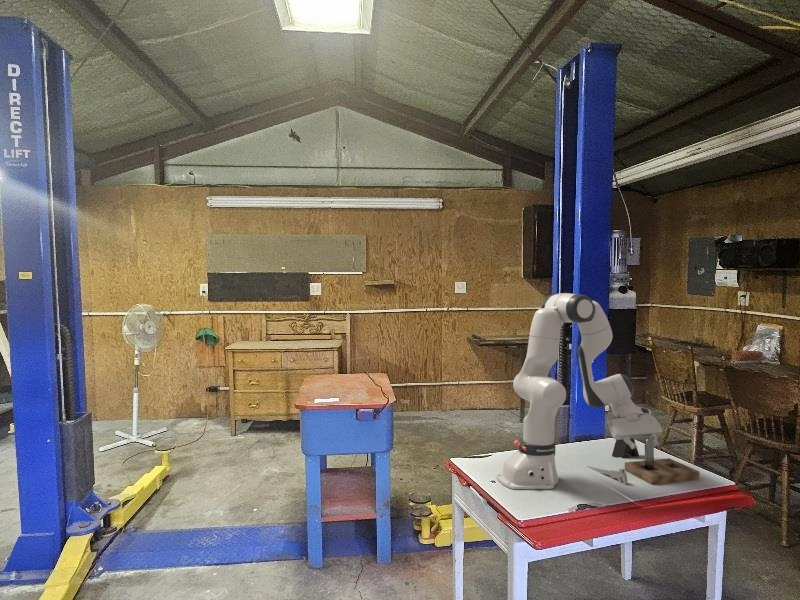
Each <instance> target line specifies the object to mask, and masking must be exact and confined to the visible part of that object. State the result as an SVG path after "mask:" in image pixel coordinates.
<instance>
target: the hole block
mask: <svg viewBox="0 0 800 600" xmlns="http://www.w3.org/2000/svg"><path fill="white" fill-rule="evenodd" d="M624 471H626V473H629V474H631V475H633V476H635V477H636V478H638V479H640V480H641V481H644V482H645V483H648V484H650V485H651V486H652V485H654V486H655V485H663V484H670V483H678V482H679V483H680V482H689V481H700V471H699V470H697V469H695V468H693V467H690V466H688V465H686V464H683V463H681V462H678V461H677V460H674V459H672V458H670V457H668V458H659V459H654V470H650V471H648V470H646V469H645V460H638V461H637V460H636V461H628V462H627V461H625V462H624Z"/></svg>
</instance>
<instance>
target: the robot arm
mask: <svg viewBox="0 0 800 600" xmlns="http://www.w3.org/2000/svg"><path fill="white" fill-rule="evenodd" d="M565 323H569V324H571V323H576V324H577V326H578V330H579V332H580V337H581V339H580V340H581V342H580V345H579V346H578V347H577V361H578V366H579V372H580V377H581V382H582V393H583V394H582V395H583V399H584V401H585V403H586V404H587V406H589V407H591V408H594V409H597V410H598V409H601V408H603V407H605V406H607V405H609V406H610V407H611V409H612V413H613V415H612V416H611V415H610V416H607V417H606V419H605V422H606V424H607V425H608V428H609V432H610V434H611V436H612V438H613V439H614V440H615V441H616V440H621V439H623V440H624V442H626V443H627V444H628V445H629V446H630V447H631V449H636V448H637V449H638V445H637V444H635V443H636V442H635V443H633V442H632V441H631V440H630V439H632V438H634V439H639V438H640V439H641V438H645V437H650V438H653V439H654V448H657V447H659V446H660V445H659V442H658V437H659V436H660V435H661V434H662V433H663V428H662V426H661V424H660V423H659V422H658V420H657V418H656V417H655V416H654V415H652V411H651V410H650V409H649V408H645V407H641V406H638V405H636V404H635V402H634V401H633V400H632V399H631V398H632V397H633V395H634V392H635V387H634V385H633V384H632V382H631V380H630V379H629V377H628V376H627V375H625V374H623V373H616V374H614V375H611V376H608V377H605V378H602V379H599V380H596V381H594V375H593V369H592V368H593V367H592V364H593V362H594V360H595V359H596V358H597V357H598V356H599V355H600V354H602V353H603V352H605V350H606V349H607V348H609V346H610V345H611V343H612V342H613V341H612V340H613V337H614V335H613V330H612V327H611V324H610V322H609V320H608V317H607V315H606V313H605V312H604V309H603V307H601V305H600V303H599V302H597V301H595V300H592V299H591V298H590V297H589V296H587V295H584V294H581V293H569V292H563V293H557V292H556V293H552V294H549V295H547V296H546V297H545V298H544V300H543V302H542V304H541V307H540V309H537V310H536V311H535V313H534V315H533V317H532V321H531V325H530V330H529V336H528V337H529V338H528V343H527V351H526V357H525V360H524V362H523V365H522V367H521V369H520V371H519V373H517V374H516V375H515V377H514V378H513V381H512V388H513V390H514V392H515V393H516V394H517V395H518V396H519V397H520V398H522V399H523V400H525V401H527V402H529V409H528V413H527V415H526V416H524V418H523V420H522V431H523V432H522V434H523V436H522V439H521V442H520V441H518V440H516V439H515V440H514V441H513V445H514V446H515V447H517V448H518V450H517V451H515V452H514V453H513V454H512V455H511V456H509V457H508V458H507V459H505V461H504V463H503V467H502V471H499V472H497V473H496V478H497V481H498V482H500V484H502V485H503V486H505V487H506V488H508V489H511V490H539V489H540V490H544V489H545V490H552V489H554V488H555V485H557V484H558V483H559V482H560V479H559V476H558V471H557V465H556V459H555V458H556V457H555V456H556V441H555V422H556V421H555V420H556V416H557V413H558V411H559V408H561V407H562V405H563V404H564V403H565V402H566V400H567V399H566V398H567V390H566V387H565V386H564V385H563V384H562V383H561V382H559V381H558V380H556V379H555V378H553V377H550V376H549V373H550V370H551V368H552V367H553V365H554V364H556V362H557V361H558V357H559V350H560V343H561V333H562V330H561V329H562V327H563V325H564V324H565Z"/></svg>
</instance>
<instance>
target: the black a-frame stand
mask: <svg viewBox="0 0 800 600" xmlns="http://www.w3.org/2000/svg"><path fill="white" fill-rule="evenodd" d="M630 440H631V441H632V442H633V443H635V444H636V441H635V438H632V439H630ZM636 445H637V444H636ZM611 457H613V458H615V457H616V459H617V458H618V459H619V458H621V459H626V458H628V457H637V458H638V457H640V453H639V450H638V447H637V448H636V449H631V447H630V446H629V445H628V444H627V443H626V442H624V440H623V439H621V440H616V439H615V443H614V446H613V450H612V453H611Z"/></svg>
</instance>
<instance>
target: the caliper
mask: <svg viewBox="0 0 800 600" xmlns="http://www.w3.org/2000/svg"><path fill="white" fill-rule="evenodd" d="M586 467H587V468H588V469H591V470H592V471H593V470H594V471H595V472H597V473H599V474H602V475H603V474H604V475H608V476H610V478H611V479H612V478H613V479H617V480H618V482H619V483H621V484H622V483H623V485H624V486H628V475H627V472H625V468H623V469H622V468H619V470H615V469H605V468H601V467H595V466H591V465H586Z"/></svg>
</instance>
